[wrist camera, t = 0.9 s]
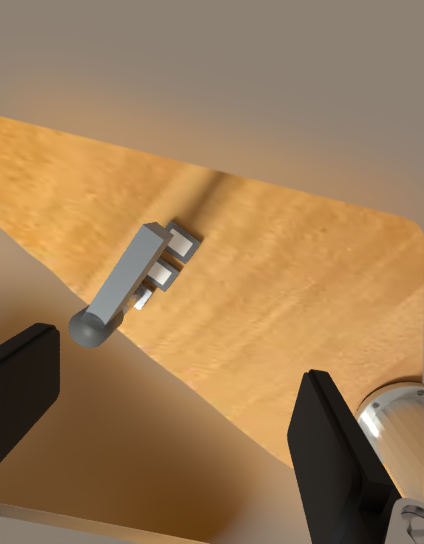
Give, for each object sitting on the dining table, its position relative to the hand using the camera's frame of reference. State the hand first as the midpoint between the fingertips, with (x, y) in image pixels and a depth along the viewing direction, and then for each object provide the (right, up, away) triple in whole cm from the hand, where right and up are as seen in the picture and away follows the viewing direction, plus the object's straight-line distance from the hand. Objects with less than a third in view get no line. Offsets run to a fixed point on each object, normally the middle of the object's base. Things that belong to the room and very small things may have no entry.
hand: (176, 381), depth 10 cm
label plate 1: (-5, +4, +23) cm, 24 cm away
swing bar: (-7, +3, +15) cm, 17 cm away
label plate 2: (-3, +8, +22) cm, 23 cm away
